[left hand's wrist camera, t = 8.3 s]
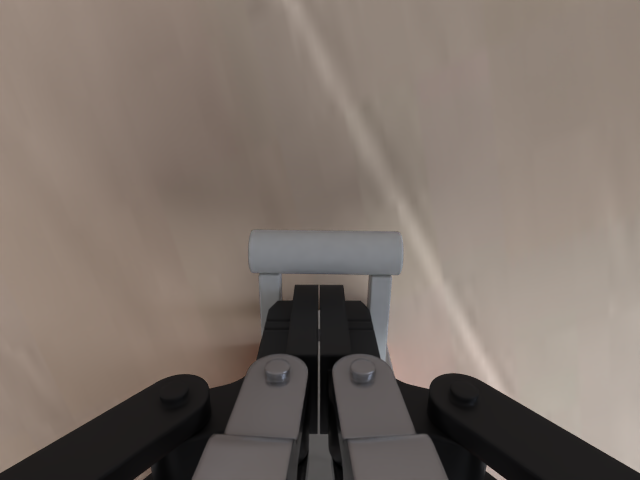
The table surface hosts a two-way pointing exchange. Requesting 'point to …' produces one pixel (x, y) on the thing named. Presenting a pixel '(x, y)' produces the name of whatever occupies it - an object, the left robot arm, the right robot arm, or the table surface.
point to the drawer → (328, 258)
